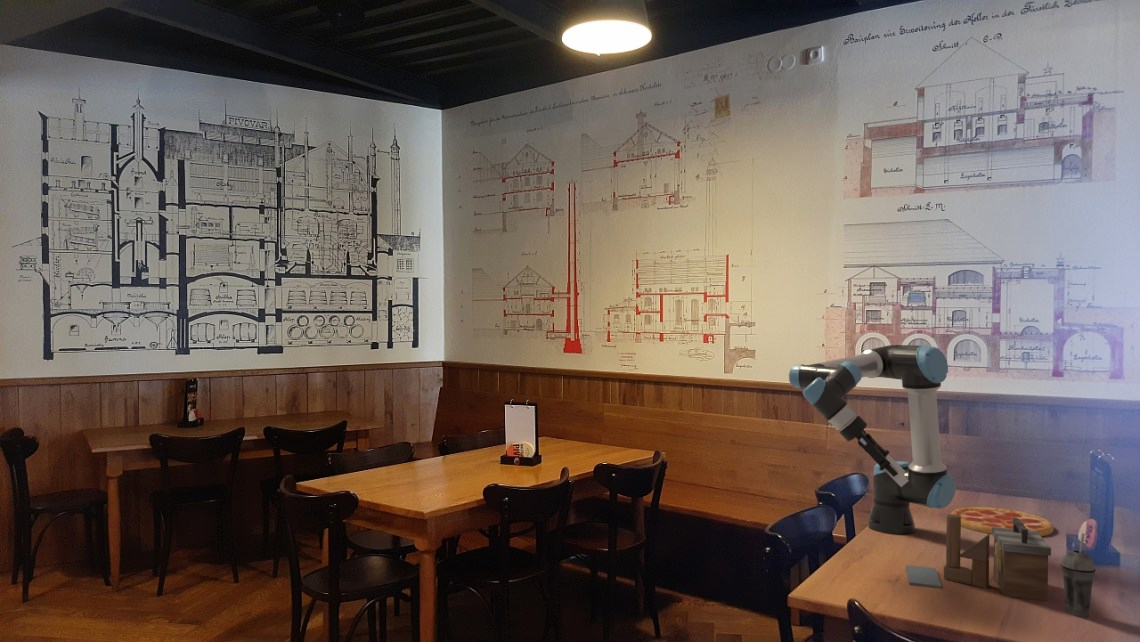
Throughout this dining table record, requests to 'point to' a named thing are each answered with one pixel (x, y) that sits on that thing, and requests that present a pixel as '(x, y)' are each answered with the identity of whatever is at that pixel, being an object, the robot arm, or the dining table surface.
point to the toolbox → (1021, 562)
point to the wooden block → (965, 556)
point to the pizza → (1000, 520)
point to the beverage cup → (1078, 581)
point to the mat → (923, 576)
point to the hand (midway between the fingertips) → (903, 479)
